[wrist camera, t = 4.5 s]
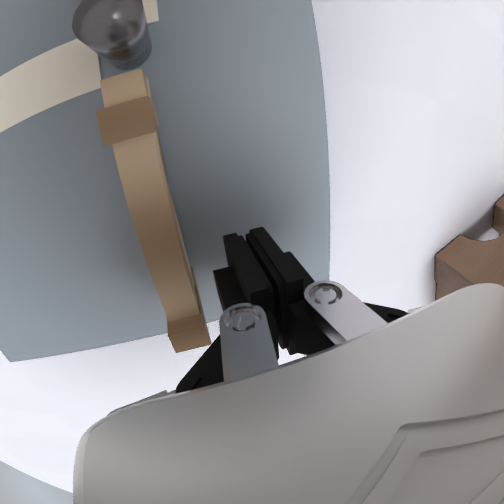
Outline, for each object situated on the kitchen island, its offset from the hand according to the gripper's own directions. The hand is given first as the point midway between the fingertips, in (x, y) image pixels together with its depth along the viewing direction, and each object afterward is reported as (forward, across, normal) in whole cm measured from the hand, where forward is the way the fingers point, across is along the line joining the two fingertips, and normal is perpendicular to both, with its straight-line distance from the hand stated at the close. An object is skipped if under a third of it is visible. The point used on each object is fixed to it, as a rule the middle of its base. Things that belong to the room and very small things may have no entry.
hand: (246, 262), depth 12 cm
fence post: (+3, +3, -10) cm, 10 cm away
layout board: (+3, +6, -10) cm, 12 cm away
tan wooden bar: (+2, +3, -3) cm, 5 cm away
